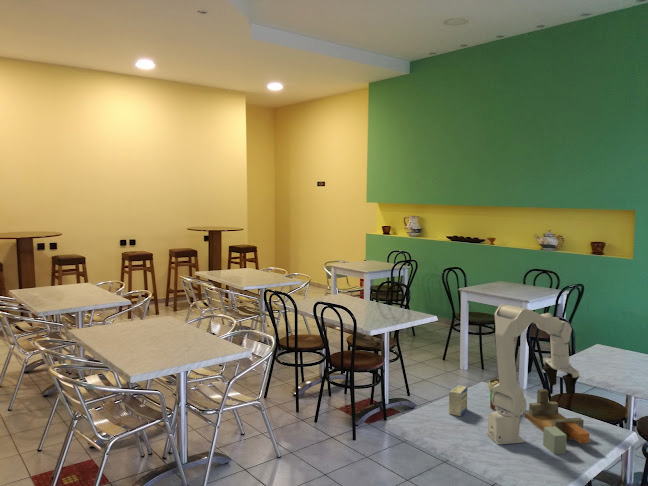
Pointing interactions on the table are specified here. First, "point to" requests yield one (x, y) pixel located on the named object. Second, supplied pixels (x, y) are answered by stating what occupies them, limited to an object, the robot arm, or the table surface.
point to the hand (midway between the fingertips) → (561, 388)
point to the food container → (490, 386)
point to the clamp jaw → (572, 428)
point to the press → (544, 412)
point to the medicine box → (458, 400)
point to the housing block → (554, 440)
